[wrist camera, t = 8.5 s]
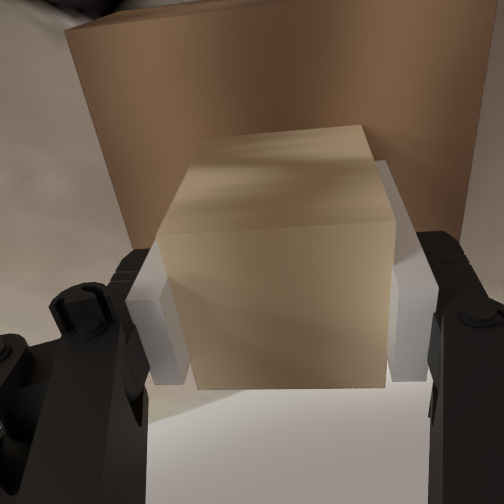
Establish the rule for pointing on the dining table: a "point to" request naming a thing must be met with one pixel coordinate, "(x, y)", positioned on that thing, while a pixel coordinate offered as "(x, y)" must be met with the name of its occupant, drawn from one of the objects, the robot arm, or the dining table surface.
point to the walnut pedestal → (287, 90)
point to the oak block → (282, 261)
